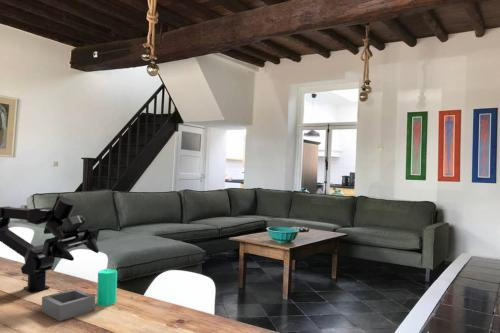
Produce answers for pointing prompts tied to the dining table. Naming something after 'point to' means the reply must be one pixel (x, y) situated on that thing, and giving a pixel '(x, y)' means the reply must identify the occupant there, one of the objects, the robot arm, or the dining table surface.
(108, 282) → the candle
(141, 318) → the dining table surface
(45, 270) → the robot arm
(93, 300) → the box
